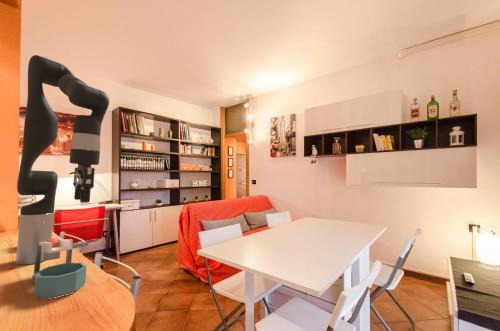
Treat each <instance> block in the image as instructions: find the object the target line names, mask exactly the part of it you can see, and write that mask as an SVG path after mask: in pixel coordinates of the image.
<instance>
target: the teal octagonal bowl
mask: <svg viewBox="0 0 500 331" xmlns="http://www.w3.org/2000/svg"><path fill="white" fill-rule="evenodd" d="M86 276H87V265H86V264H85V263H84V262H71V263H66V262H65V263H60V264H54V265H51V266H47V267H45V268H42V269H40V271H38V272H36V275H35V285H33V287H34V289H33V292H34V298H35V297H36V298H35V299H37V300H41V299H48V300H50V299H49V298H54V297H58V296H62V295H66V294H70V293H72V292H75V291H77V290H79V289H80V288H81V287H82V286H83V287H84V285H85V284H86V280H87V279H86V278H87V277H86ZM83 287H82V288H83ZM82 288H81V289H82ZM81 289H80V290H81ZM80 290H79V291H80ZM77 292H78V291H77ZM75 293H76V292H75ZM70 295H71V294H70Z"/></svg>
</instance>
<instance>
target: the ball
mask: <svg viewBox="0 0 500 331" xmlns="http://www.w3.org/2000/svg"><path fill="white" fill-rule="evenodd" d="M57 240H58V239H57V238H54V237H52V238H50V239H48V240H47V241H46V242H52V248H53V247H55V246H56V245H57V243H58V241H57Z"/></svg>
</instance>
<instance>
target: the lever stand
mask: <svg viewBox="0 0 500 331" xmlns="http://www.w3.org/2000/svg"><path fill="white" fill-rule="evenodd" d="M73 242H74V241H73V240H72V244H74V243H73ZM41 249H42V246H41V245H38V246H36V252H35V263H33V264H34V266H33V275H31V281H32V284H33V286H35V275H36V272H38V271H40V270H41V262H40V261H41ZM72 256H73V249H70V250H66V253H65V263H72V258H73V257H72Z"/></svg>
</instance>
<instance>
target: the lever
mask: <svg viewBox="0 0 500 331" xmlns="http://www.w3.org/2000/svg"><path fill="white" fill-rule="evenodd" d="M57 241H58V243H57V245H56V246H55V247H53V248H52V242H46V241H45V242H40V244H39V245H41V246H42V249H41V252H42V259H41V261H42V262H48V261H52V260H56V259H60V258H61V252H64V251H67V250H70V249H72V250H73V249H78V248H84V247H89V241H80V242H75V243H73V244H72V241H73V239H71V238H70V239H65V238H63V239H60V238H59V239H57Z"/></svg>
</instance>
